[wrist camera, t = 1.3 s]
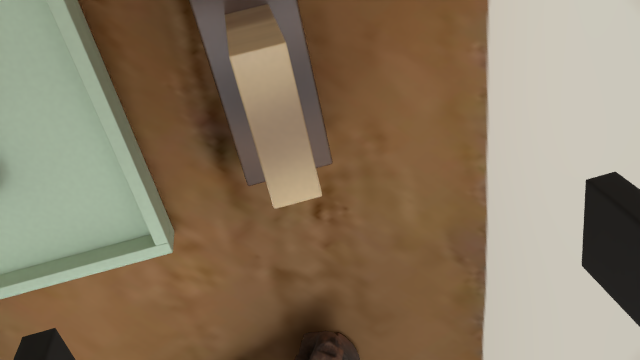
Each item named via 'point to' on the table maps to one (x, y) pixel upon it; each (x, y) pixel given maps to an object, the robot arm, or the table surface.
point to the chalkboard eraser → (267, 93)
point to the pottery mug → (326, 347)
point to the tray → (67, 156)
